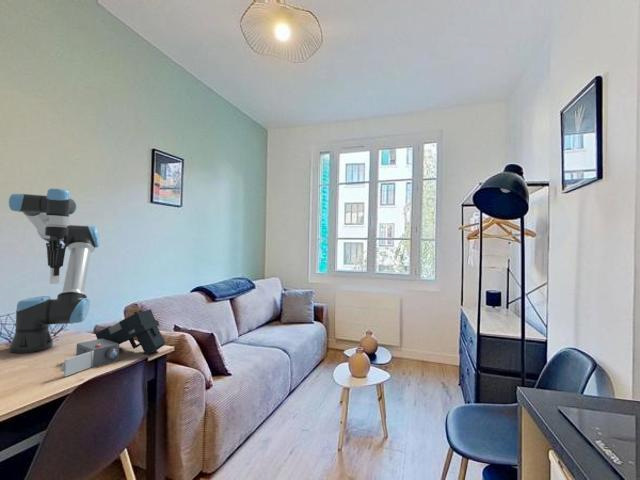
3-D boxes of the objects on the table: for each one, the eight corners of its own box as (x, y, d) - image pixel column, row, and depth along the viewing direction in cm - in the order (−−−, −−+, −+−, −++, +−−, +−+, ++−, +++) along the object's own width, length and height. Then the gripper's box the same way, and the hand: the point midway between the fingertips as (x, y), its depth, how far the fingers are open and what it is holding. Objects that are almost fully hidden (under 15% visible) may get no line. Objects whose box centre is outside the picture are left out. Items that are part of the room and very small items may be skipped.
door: (89, 366, 133) (90, 350, 133) (93, 366, 132) (94, 350, 132) (61, 376, 122) (61, 359, 122) (64, 377, 121) (65, 359, 121)
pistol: (155, 350, 146) (138, 309, 149) (108, 372, 151) (92, 331, 153) (168, 344, 156) (153, 305, 158) (124, 365, 160) (109, 327, 162)
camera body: (75, 360, 139) (76, 341, 139) (101, 354, 148) (102, 336, 148) (95, 368, 131) (96, 348, 131) (121, 361, 140) (122, 342, 140)
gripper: (39, 225, 137) (36, 283, 137) (53, 225, 131) (50, 285, 130) (60, 227, 144) (58, 281, 143) (75, 227, 137) (72, 284, 136)
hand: (54, 283), depth 137 cm, fingers closed
